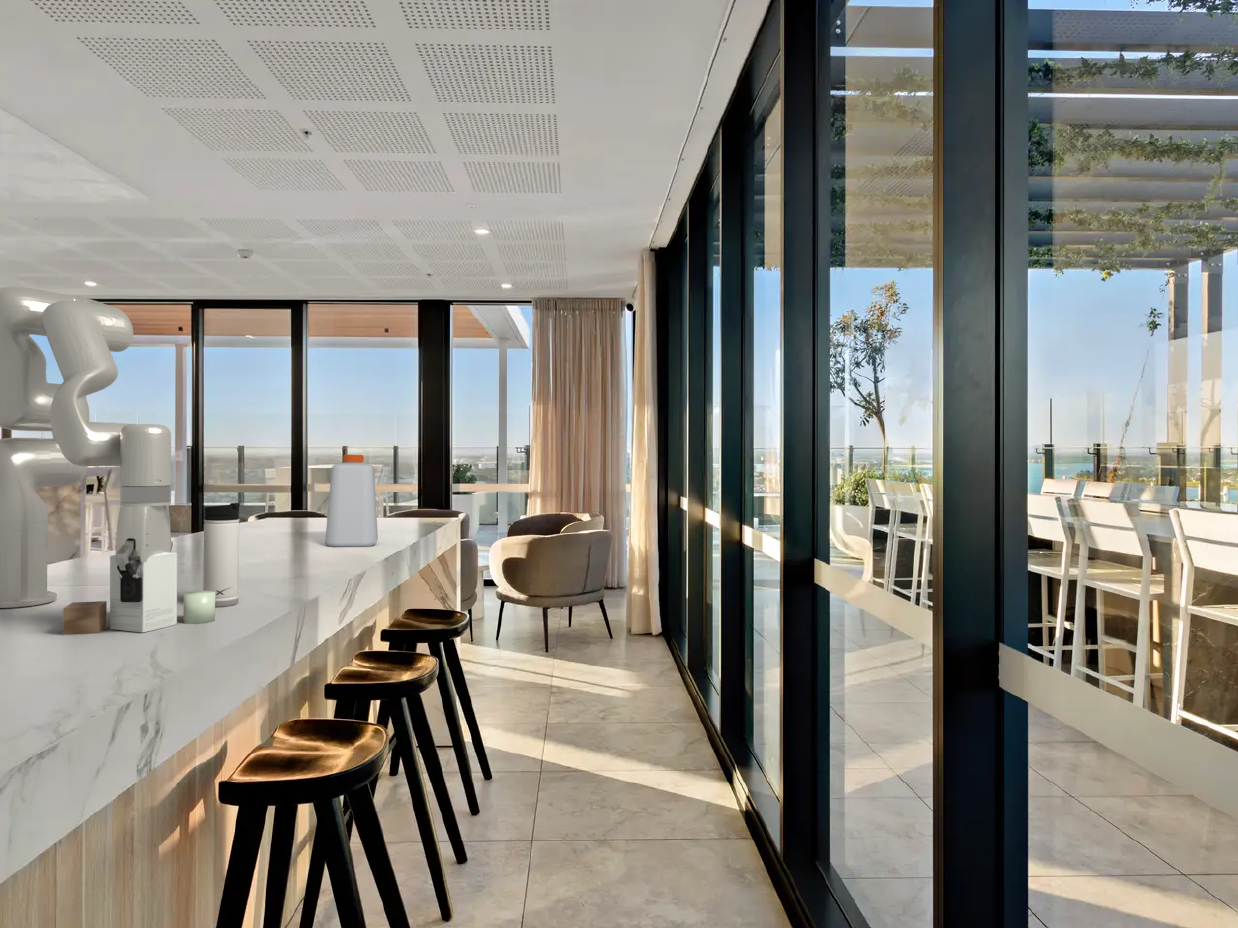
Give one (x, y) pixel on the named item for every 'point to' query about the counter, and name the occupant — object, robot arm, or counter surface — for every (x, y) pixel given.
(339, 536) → the plastic bottle
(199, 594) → the sage plastic cylinder
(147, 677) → the counter surface
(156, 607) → the supplement box
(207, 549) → the travel mug
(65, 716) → the counter surface
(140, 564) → the robot arm
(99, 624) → the walnut block
